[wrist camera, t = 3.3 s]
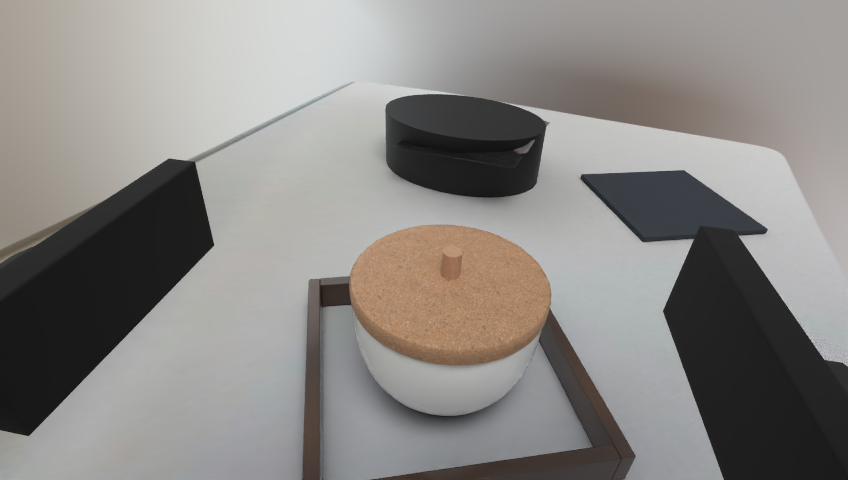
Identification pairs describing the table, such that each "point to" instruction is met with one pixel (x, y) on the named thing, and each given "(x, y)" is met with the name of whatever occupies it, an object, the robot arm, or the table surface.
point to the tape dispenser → (464, 144)
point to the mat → (668, 204)
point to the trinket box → (447, 316)
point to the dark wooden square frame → (529, 476)
